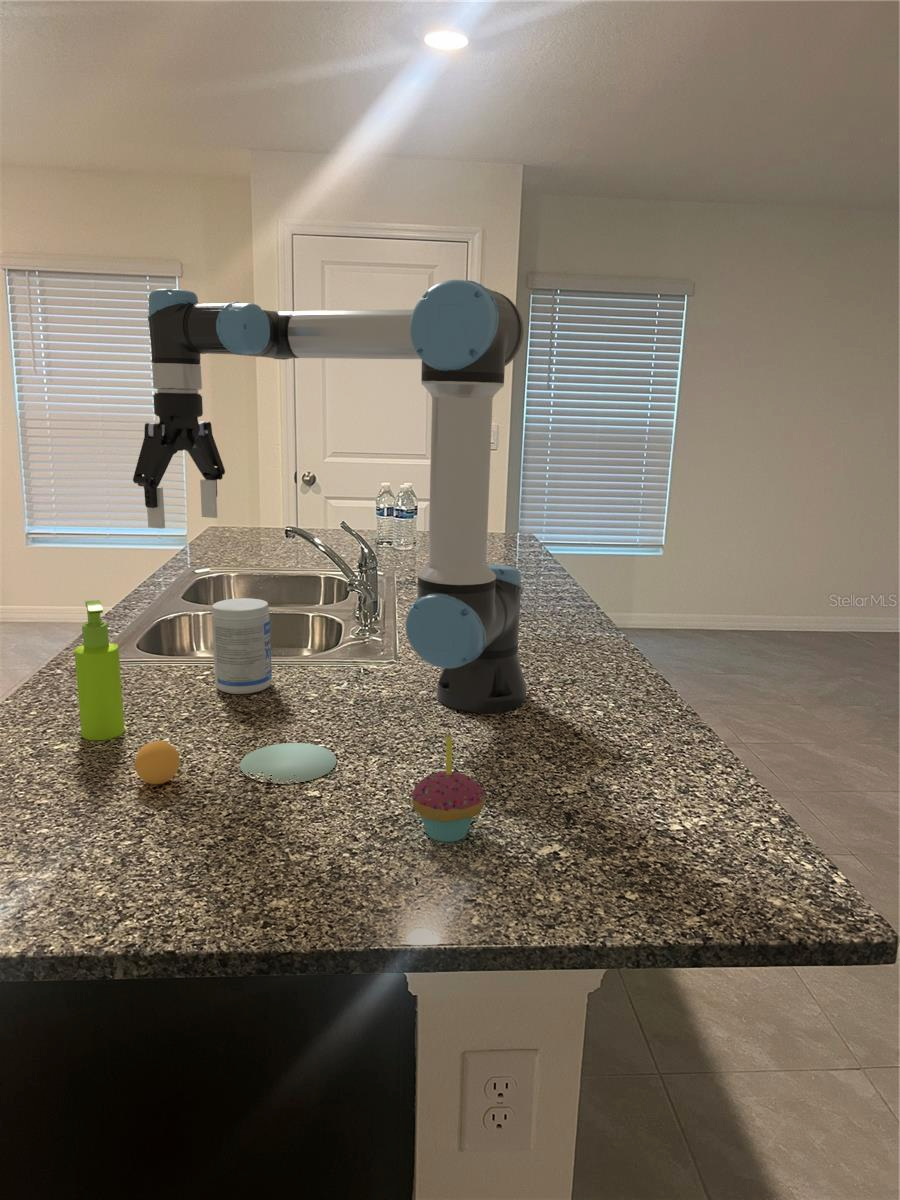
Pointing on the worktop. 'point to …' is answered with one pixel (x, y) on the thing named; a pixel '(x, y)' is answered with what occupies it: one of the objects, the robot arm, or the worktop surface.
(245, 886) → the worktop surface
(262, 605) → the supplement tub
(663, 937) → the worktop surface
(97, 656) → the soap dispenser
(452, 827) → the cupcake
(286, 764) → the smooth pale green disc
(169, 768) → the ball
